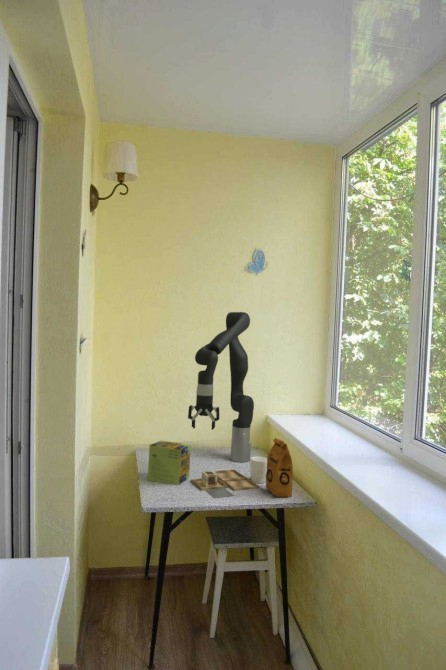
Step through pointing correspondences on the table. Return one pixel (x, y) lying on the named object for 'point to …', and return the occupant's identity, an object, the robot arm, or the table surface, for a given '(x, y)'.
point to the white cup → (258, 469)
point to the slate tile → (219, 493)
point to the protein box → (169, 462)
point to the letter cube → (209, 478)
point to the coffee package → (279, 470)
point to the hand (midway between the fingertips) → (203, 428)
